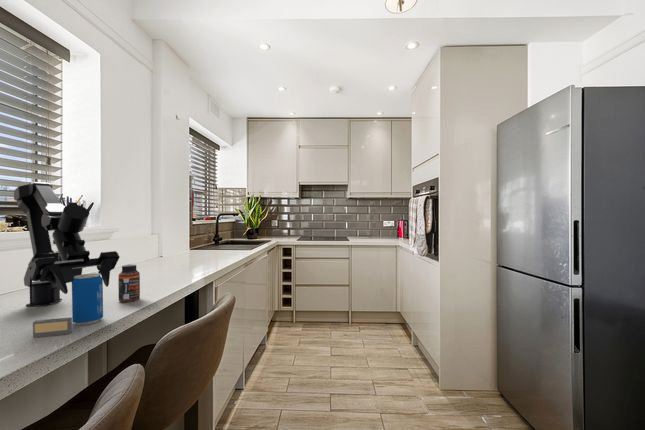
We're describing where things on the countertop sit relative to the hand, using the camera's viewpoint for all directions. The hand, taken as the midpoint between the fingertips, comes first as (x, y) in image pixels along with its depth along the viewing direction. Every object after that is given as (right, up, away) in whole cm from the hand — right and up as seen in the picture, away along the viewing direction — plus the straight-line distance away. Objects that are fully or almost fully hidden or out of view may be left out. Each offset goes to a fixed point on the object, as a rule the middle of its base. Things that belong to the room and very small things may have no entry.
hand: (87, 289), depth 84 cm
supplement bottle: (-2, -9, +21) cm, 23 cm away
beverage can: (0, -9, 0) cm, 9 cm away
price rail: (-2, -9, -9) cm, 12 cm away
